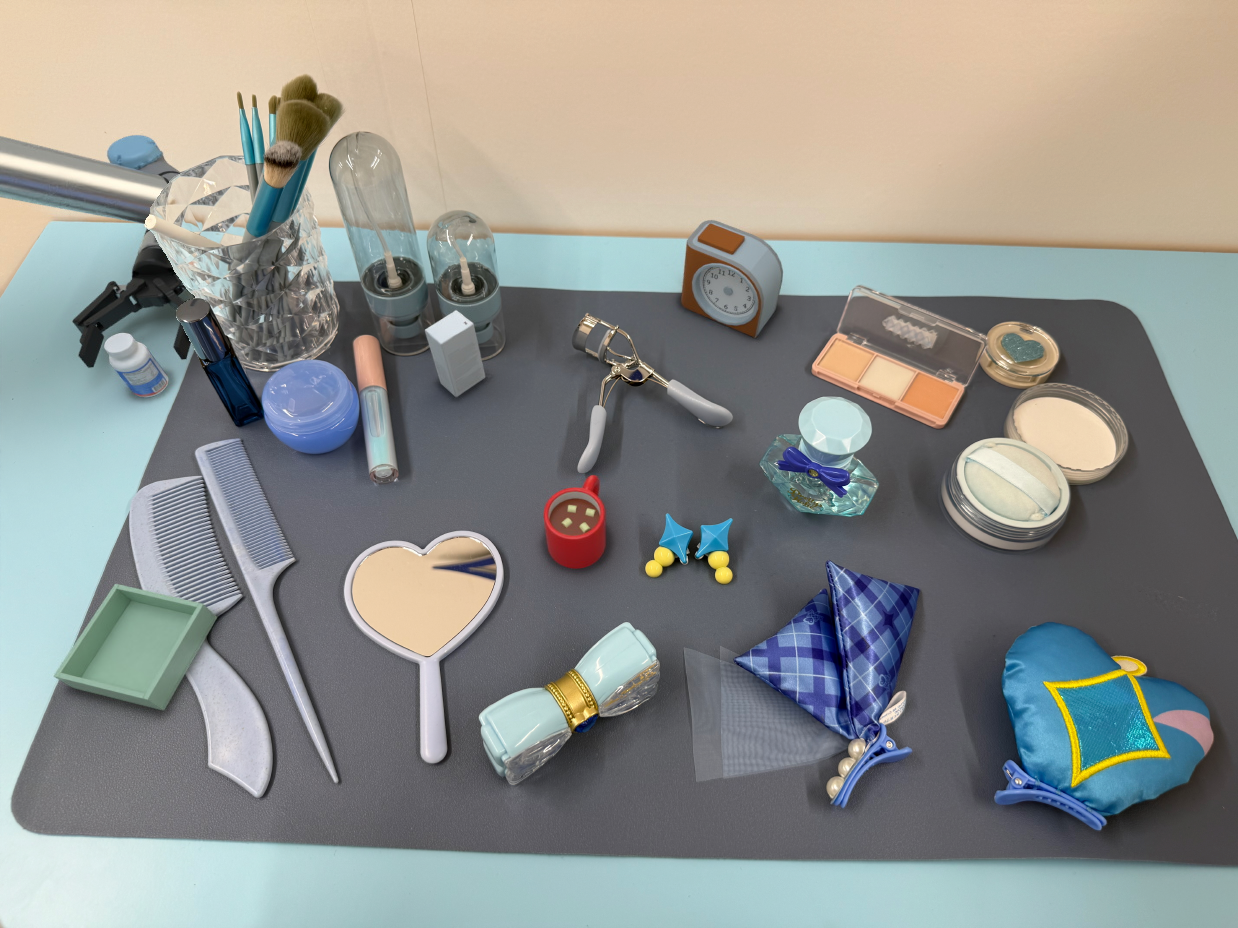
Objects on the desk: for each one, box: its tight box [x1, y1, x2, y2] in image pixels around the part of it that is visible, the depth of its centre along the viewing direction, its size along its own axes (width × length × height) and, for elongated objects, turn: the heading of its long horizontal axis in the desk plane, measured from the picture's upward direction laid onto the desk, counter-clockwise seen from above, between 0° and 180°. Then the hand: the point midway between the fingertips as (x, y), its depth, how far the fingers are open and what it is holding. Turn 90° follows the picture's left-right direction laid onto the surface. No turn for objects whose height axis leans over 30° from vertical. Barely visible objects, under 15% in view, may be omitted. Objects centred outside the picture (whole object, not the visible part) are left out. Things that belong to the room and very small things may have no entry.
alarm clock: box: [680, 219, 784, 339], centre depth 125 cm, size 15×8×14 cm, turn 58°
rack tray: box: [53, 583, 218, 712], centre depth 94 cm, size 12×12×4 cm
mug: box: [543, 474, 606, 570], centre depth 102 cm, size 8×12×8 cm, turn 164°
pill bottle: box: [103, 332, 169, 398], centre depth 116 cm, size 6×5×10 cm
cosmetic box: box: [424, 309, 486, 398], centre depth 116 cm, size 6×4×12 cm
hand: (133, 357), depth 116 cm, fingers open, 13 cm apart
